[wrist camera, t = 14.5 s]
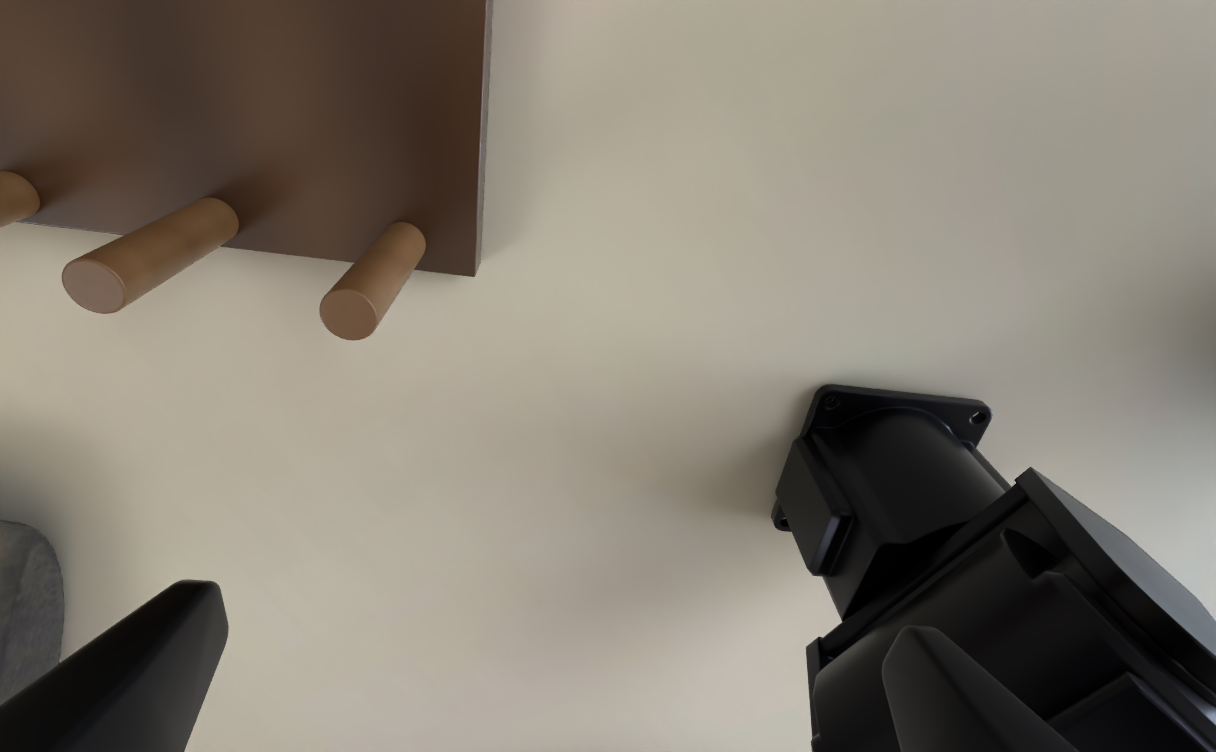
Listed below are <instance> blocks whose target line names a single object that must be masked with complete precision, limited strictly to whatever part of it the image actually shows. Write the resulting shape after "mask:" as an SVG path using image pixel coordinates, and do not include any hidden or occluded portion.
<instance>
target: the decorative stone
mask: <svg viewBox="0 0 1216 752" xmlns="http://www.w3.org/2000/svg"><path fill="white" fill-rule="evenodd" d="M63 623H64V595H63V580H62V576H61V569H60V566H59V563H58V561H57V558H56V555H55V552H54V550H53V548H52V547H51V545H50V544H49V542H48V541H47V540H46V538H45V537H44V536H43V535H42V534H41V533H40V532H39V531H38V530H36V529H34V528H32V527H30V526H27V525H25V524H20V523H15V522H9V521H0V705H1V704H2V703H3V702H5V701H6V700H8V699H9V698H11V697H12V696H13V695H15V694H16V693H18V692H19V691H21V690H22V689H23V688H25V687H26V686H28V685H29V684H31V683H32V682H33V681H35V680H36V679H38V678H39V677H41V676H42V675H43V674H45V673H46V672H48V671H49V670H51V669H52V668H53V667H55V666H56V665H58V663H59V656H60V649H61V640H62V634H63Z"/></svg>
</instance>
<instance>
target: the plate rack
mask: <svg viewBox="0 0 1216 752" xmlns="http://www.w3.org/2000/svg"><path fill="white" fill-rule="evenodd" d="M492 13H493V0H0V227H2V226H5V225H8V224H11V223H14V222H21V223H29V224H37V225H46V226H54V227H62V228H71V229H79V230H87V231H96V232H104V233H112V234H121V235H124V236H122V237H120V238H118V239H116V240H114V241H112V242H110V243H108V244H106V245H104V246H101V247H99V248H97V249H95V250H93V251H91V252H89V253H87V254H85V255H83V256H81V257H79V258H77V259H74V260H72V261H71V262H69V263H68V264H67V265H66V266H65V268H64V270H63V273H62V282H63V286H64V288H65V290H66V292H67V293H68V295H69V296H70V297H71V298H72V299H73V300H74V301H75V302H76V303H77V304H79V305H80V306H82V307H83V308H85V309H87V310H90V311H92V312H96V313H102V314H108V313H114V312H117V311H119V310H121V309H122V308H124V307H125V306H127V305H129V304H130V303H132V302H133V301H135V300H136V299H138V298H140V297H141V296H143V295H144V294H146V293H147V292H149V291H151V290H152V289H154V288H155V287H157V286H158V285H160V284H161V283H163V282H165V281H166V280H168V279H169V278H171V277H172V276H174V275H176V274H177V273H179V272H180V271H182V270H183V269H185V268H186V267H188V266H190V265H191V264H193V263H194V262H196V261H197V260H199V259H201V258H202V257H204V256H205V255H207V254H208V253H210V252H211V251H213V250H215V249H216V248H218V247H219V246H220V247H229V248H237V249H245V250H254V251H262V252H270V253H279V254H287V255H295V256H304V257H312V258H320V259H329V260H337V261H345V262H354V264H353V265H352V266H351V268H350V269H349V270H348V271H347V272H346V273H345V274H344V275H343V276H342V277H341V279H340V280H339V281H338V282H337V283H336V284H335V285H334V286H333V287H332V289H331V290H330V291H329V292H328V293H327V294H326V295H325V296H324V298H323V299H322V301H321V304H320V316H321V319H322V322H323V323H324V325H325V326H326V328H327V329H328V330H329V331H330V332H332V333H333V334H334V335H336V336H338V337H340V338H343V339H346V340H360V339H364V338H366V337H368V336H370V335H371V334H372V333H373V332H374V330H375V329H376V327H377V326H378V324H379V323H380V321H381V320H382V318H383V317H384V315H385V313H386V312H387V310H388V309H389V307H390V306H391V304H392V303H393V301H394V300H395V298H396V296H397V295H398V293H399V292H400V290H401V289H402V287H403V286H404V284H405V282H406V281H407V279H408V278H409V276H410V275H411V273H412V272H413V270H420V271H429V272H437V273H445V274H454V275H462V276H470V277H475V275H476V273H477V270H478V268H479V265H480V263H481V242H482V221H483V200H484V180H485V159H486V138H487V117H488V96H489V76H490V55H491V34H492Z"/></svg>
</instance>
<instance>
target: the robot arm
mask: <svg viewBox="0 0 1216 752" xmlns="http://www.w3.org/2000/svg"><path fill="white" fill-rule="evenodd" d="M832 396H835V398H834V399H833V400H832V401H831V402H827V403H825V401H826V399H827V398H829V397H832ZM977 412H979V413H978V414H977V415H976V416H974V417H972V416H973V415H974V414H976V413H977ZM992 416H993V413H992V410H991V409H990V408H989V407H988V406H987V405H986V404H985V403H984V402H983V401H979V400H972V399H963V398H954V397H945V396H935V395H926V394H917V393H908V392H898V391H889V390H880V389H871V388H861V387H852V386H843V385H834V384H830V385H825V386H822V387H821V388H819V389H818V390H817V391H816V393H815V395H814V397H813V400H812V403H811V405H810V408H809V411H808V414H807V416H806V419H805V422H804V425H803V428H802V430H801V433H800V436H798V437H797V438H796V439H795V440H794V441H793V443H792V446H791V449H790V452H789V454H788V457H787V460H786V463H785V466H784V468H783V471H782V474H781V477H780V480H779V482H778V485H777V488H776V495H777V500H776V502H775V505H774V508H773V511H772V514H771V518H772V521H773V523H774V525H775V528H777V529H778V530H781V531H789V532H792V533H793V536H794V538H795V541H796V543H797V545H798V548H799V550H800V553H801V555H802V557H803V560H804V562H805V564H806V567H807V569H808V570H809V571H810V573H811V574H812V575H813V576H822V577H823V579H824V581H825V584H826V586H827V588H828V590H829V593H830V595H831V597H832V600H833V602H834V604H835V606H836V609H837V611H838V613H839V615H840V618H841V620H842V623H841V624H839V625H838V626H837V627H836V628H834V629H833V630H832V631H831V632H829V633H828V634H827V635H826V636H824V637H823V638H822V637H818V638H817V639H815V640H814V641H813V642H812V643H810V644H809V645H808V646H807V647H806V656H807V670H808V684H809V698H810V712H811V726H812V741H811V747H812V752H1216V621H1215V620H1214V619H1213V617H1212V616H1211V615H1210V614H1209V612H1208V611H1207V610H1206V608H1205V607H1204V606H1203V604H1202V603H1201V602H1200V601H1199V600H1198V599H1197V598H1196V597H1195V596H1194V595H1193V594H1192V593H1191V592H1190V591H1189V590H1187V589H1186V588H1185V587H1184V586H1183V585H1182V584H1181V583H1180V582H1179V581H1177V580H1176V579H1175V578H1174V577H1173V576H1172V575H1171V574H1170V573H1168V572H1167V571H1166V570H1165V569H1164V568H1163V567H1162V566H1161V565H1159V564H1158V563H1157V562H1156V561H1155V560H1154V559H1153V558H1152V557H1150V556H1149V555H1148V554H1147V553H1146V552H1145V551H1144V550H1143V549H1142V548H1140V547H1139V546H1138V545H1137V544H1136V543H1135V542H1134V541H1133V540H1131V539H1130V538H1129V537H1128V536H1127V535H1125V534H1124V533H1123V532H1121V531H1120V530H1119V529H1117V528H1116V527H1114V526H1113V525H1112V524H1110V523H1109V522H1107V521H1106V520H1105V519H1103V518H1102V517H1101V516H1099V515H1098V514H1096V513H1095V512H1094V511H1092V510H1091V509H1089V508H1088V507H1087V506H1085V505H1084V504H1082V503H1081V502H1080V501H1078V500H1077V499H1075V498H1074V497H1073V496H1071V495H1070V494H1068V493H1067V492H1066V491H1064V490H1063V489H1061V488H1060V487H1059V486H1057V485H1056V484H1054V483H1053V482H1052V481H1050V480H1049V479H1047V478H1046V477H1045V476H1043V475H1042V474H1040V473H1039V472H1038V471H1036V470H1035V469H1033V468H1032V467H1030V468H1028V469H1027V470H1026V471H1025V472H1023V473H1022V474H1021V475H1020V476H1019V477H1017V478H1016V479H1015V482H1016V484H1015V485H1014V486H1012V487H1011V486H1010V485H1009V484H1008V482H1007V481H1006V480H1005V479H1004V478H1003V477H1002V476H1001V475H1000V474H999V473H998V472H997V471H996V470H995V468H994V467H993V466H992V465H991V464H990V463H989V462H988V461H987V460H986V459H985V458H984V457H983V456H982V454H981V453H980V452H979V451H978V450H977V449H976V447H977V445H978V443H979V441H980V440H981V438H982V436H983V434H984V432H985V430H986V428H987V427H988V425H989V423H990V421H991V419H992ZM784 517H786V519H782V518H784ZM227 637H228V620H227V616H226V612H225V607H224V603H223V598H222V594H221V590H220V587H219V585H218V584H217V583H215V582H213V581H203V580H181V581H178V582H176V583H174V584H172V585H171V586H169V587H168V588H167V589H165V590H164V591H162V592H161V593H159V594H158V595H157V596H155V597H154V598H152V599H151V600H149V601H148V602H146V603H145V604H144V605H142V606H141V607H139V608H138V609H136V610H135V611H134V612H132V613H131V614H129V615H128V616H126V617H125V618H124V619H122V620H121V621H119V622H118V623H116V624H115V625H114V626H112V627H111V628H109V629H108V630H106V631H105V632H104V633H102V634H101V635H99V636H98V637H96V638H95V639H94V640H92V641H91V642H89V643H88V644H86V645H85V646H84V647H82V648H81V649H79V650H78V651H76V652H75V653H74V654H72V655H71V656H69V657H68V658H66V659H65V660H64V661H62V662H61V663H59V664H58V665H56V666H55V667H53V668H52V669H51V670H49V671H48V672H46V673H45V674H43V675H42V676H41V677H39V678H38V679H36V680H35V681H33V682H32V683H31V684H29V685H28V686H26V687H25V688H23V689H22V690H21V691H19V692H18V693H16V694H15V695H13V696H12V697H11V698H9V699H8V700H6V701H5V702H3V703H2V704H1V705H0V752H184V750H185V748H186V745H187V742H188V740H189V737H190V735H191V732H192V730H193V727H194V725H195V722H196V719H197V717H198V714H199V712H200V709H201V707H202V704H203V701H204V699H205V696H206V694H207V691H208V689H209V686H210V683H211V681H212V678H213V676H214V673H215V671H216V668H217V665H218V663H219V660H220V658H221V655H222V653H223V650H224V647H225V645H226V641H227Z"/></svg>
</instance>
